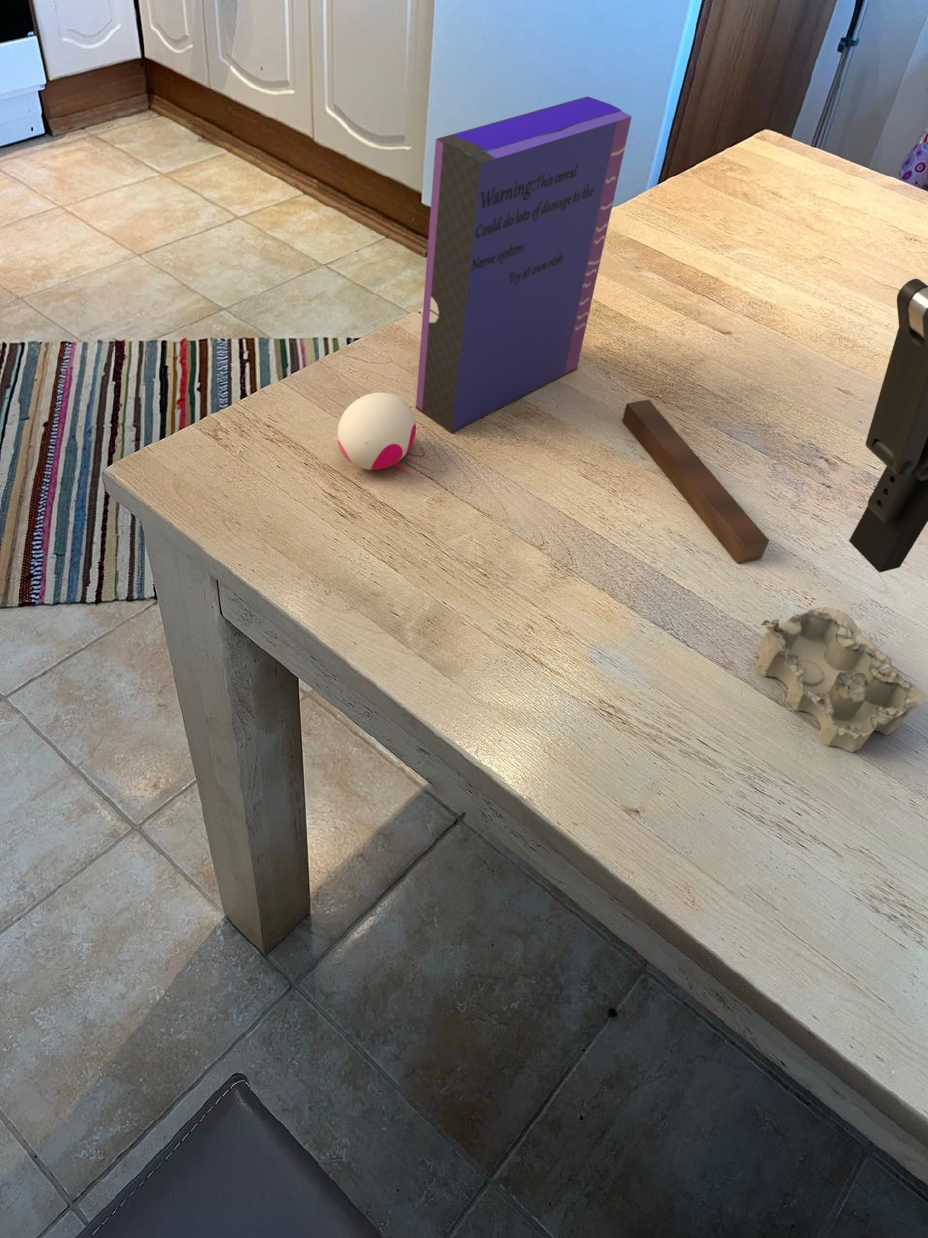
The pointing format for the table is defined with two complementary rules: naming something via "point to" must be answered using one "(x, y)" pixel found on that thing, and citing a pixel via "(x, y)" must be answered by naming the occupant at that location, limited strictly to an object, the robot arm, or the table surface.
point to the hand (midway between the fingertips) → (874, 553)
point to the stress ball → (376, 431)
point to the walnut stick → (695, 482)
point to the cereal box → (514, 255)
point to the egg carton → (836, 676)
